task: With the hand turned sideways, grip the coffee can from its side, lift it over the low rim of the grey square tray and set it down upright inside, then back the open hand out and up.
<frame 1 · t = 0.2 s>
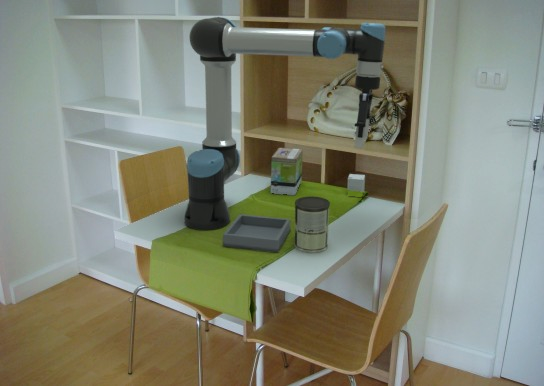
hand: (361, 142, 180), 27 cm above the table, tool pointing down, fingers open, 13 cm apart
tea box: (286, 189, 221), on the table
coffee can: (311, 246, 171), on the table
skincare box: (355, 195, 215), on the table
grey square tray: (257, 238, 176), on the table
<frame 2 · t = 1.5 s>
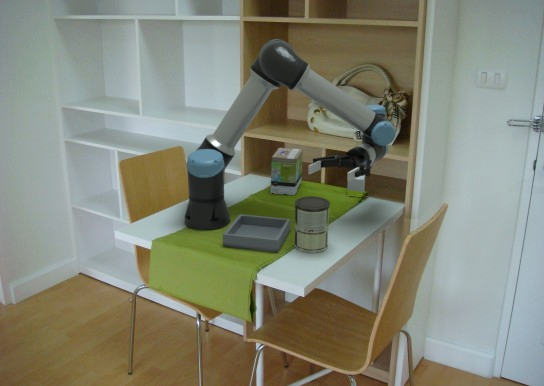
hand: (328, 173, 172), 20 cm above the table, tool horizontal, fingers open, 13 cm apart
nothing on the table moved.
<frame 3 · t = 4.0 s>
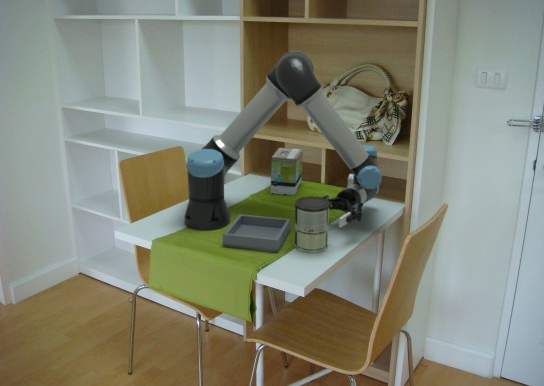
hand: (319, 218, 171), 8 cm above the table, tool horizontal, fingers open, 13 cm apart
nothing on the table moved.
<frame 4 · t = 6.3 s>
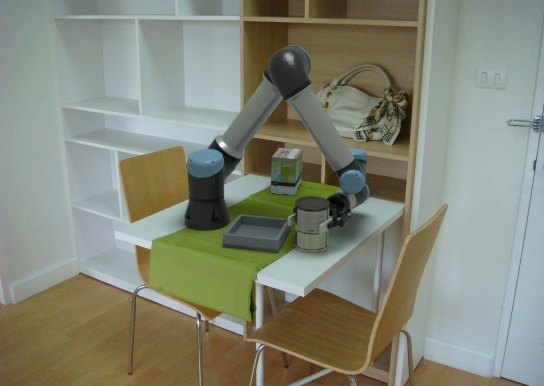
hand: (304, 225, 165), 8 cm above the table, tool horizontal, fingers closed on coffee can, 10 cm apart
coffee can: (311, 246, 171), on the table, touching gripper
everything else where it was.
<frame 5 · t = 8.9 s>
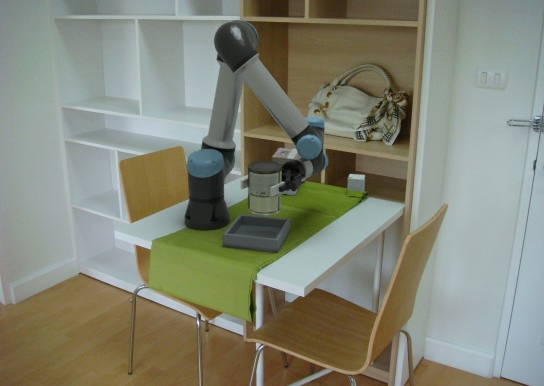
hand: (256, 188, 166), 18 cm above the table, tool horizontal, fingers closed on coffee can, 10 cm apart
coffee can: (264, 210, 172), point 10 cm above the table, touching gripper
everything else where it was.
when the fingers open (10 cm above the table, at t = 11.8 s): coffee can drops 1 cm, resting on grey square tray.
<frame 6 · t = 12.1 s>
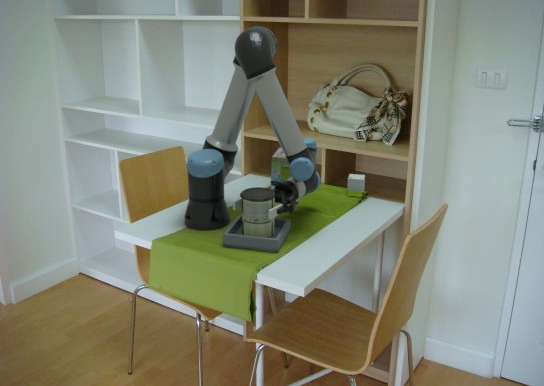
hand: (251, 210, 170), 10 cm above the table, tool horizontal, fingers open, 13 cm apart
coffee can: (258, 235, 176), point 1 cm above the table, touching grey square tray
everything else where it was.
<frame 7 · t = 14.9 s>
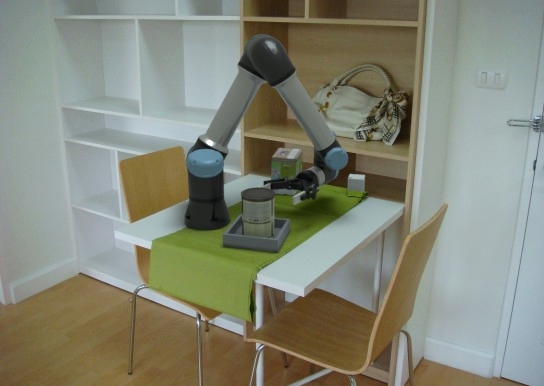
hand: (275, 196, 180), 11 cm above the table, tool horizontal, fingers open, 13 cm apart
nothing on the table moved.
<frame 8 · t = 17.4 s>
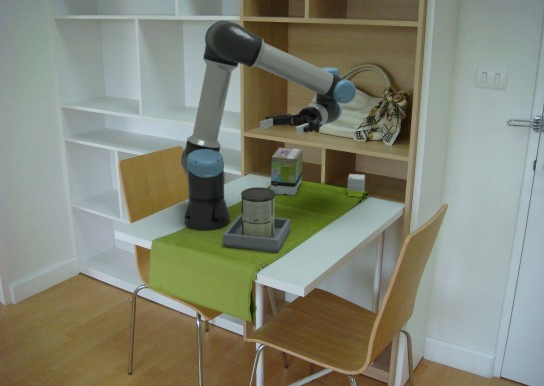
hand: (278, 128, 177), 32 cm above the table, tool horizontal, fingers open, 13 cm apart
nothing on the table moved.
at the end: coffee can inside the target area on the grey square tray (0.1 cm from its centre), point 0.8 cm above the grey square tray's base; coffee can tilted 0°; the gripper is holding nothing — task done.
